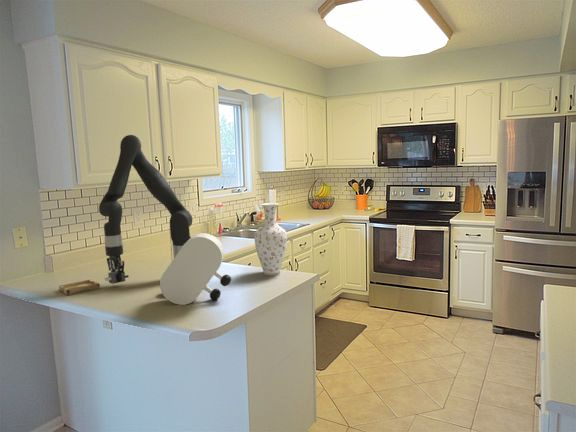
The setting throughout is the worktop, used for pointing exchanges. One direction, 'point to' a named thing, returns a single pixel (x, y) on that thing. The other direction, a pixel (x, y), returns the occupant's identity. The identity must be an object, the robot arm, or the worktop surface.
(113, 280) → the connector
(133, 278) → the worktop surface
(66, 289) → the tray
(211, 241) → the robot
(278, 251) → the vase
